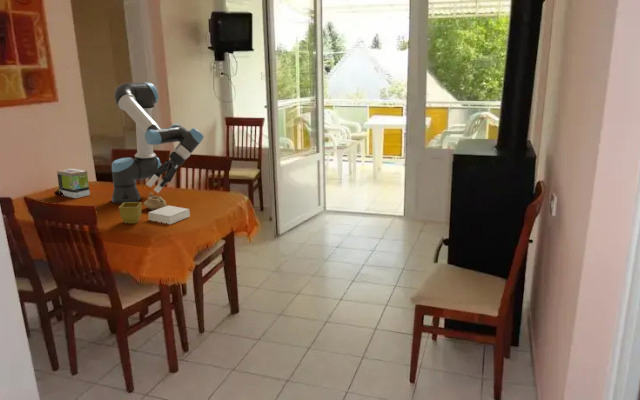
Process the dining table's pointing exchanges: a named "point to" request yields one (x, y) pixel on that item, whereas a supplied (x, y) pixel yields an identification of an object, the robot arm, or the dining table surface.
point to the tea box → (73, 183)
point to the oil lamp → (154, 202)
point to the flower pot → (130, 211)
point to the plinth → (169, 214)
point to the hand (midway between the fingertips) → (151, 188)
